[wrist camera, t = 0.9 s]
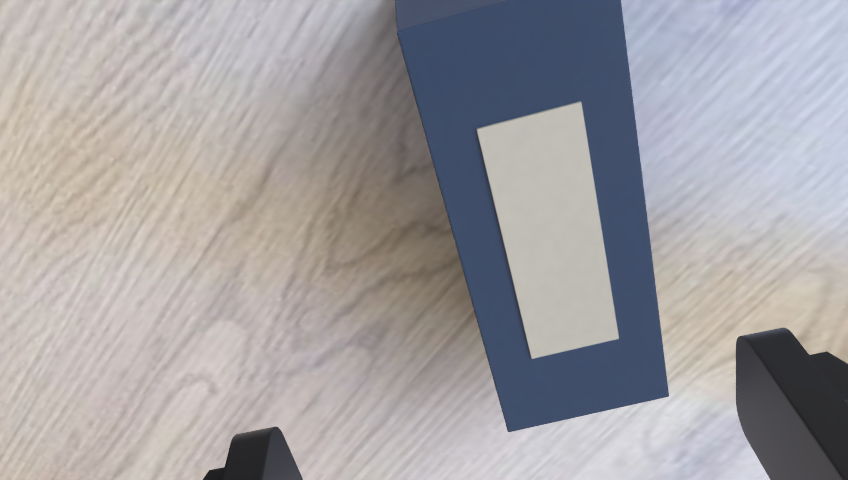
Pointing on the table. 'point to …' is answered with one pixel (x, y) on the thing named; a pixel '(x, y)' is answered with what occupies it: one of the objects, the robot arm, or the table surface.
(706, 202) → the table surface
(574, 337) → the rectangular box
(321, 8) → the table surface
